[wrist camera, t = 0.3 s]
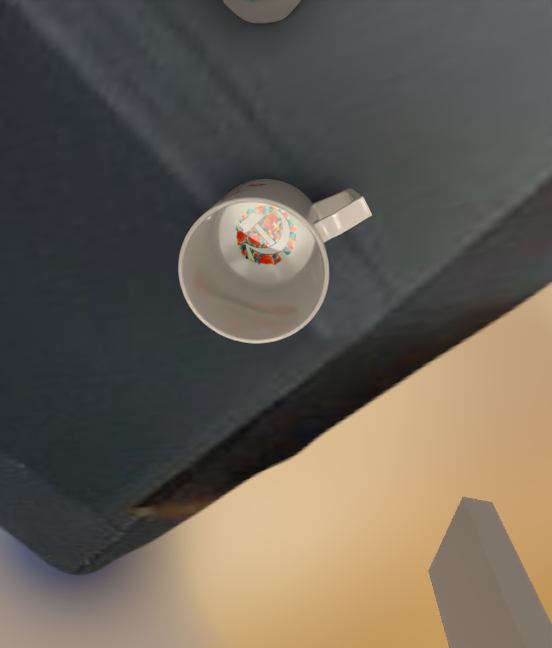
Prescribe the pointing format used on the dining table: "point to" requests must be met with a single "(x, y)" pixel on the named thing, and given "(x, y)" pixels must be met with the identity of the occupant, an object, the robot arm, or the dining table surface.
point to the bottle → (262, 9)
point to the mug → (263, 258)
